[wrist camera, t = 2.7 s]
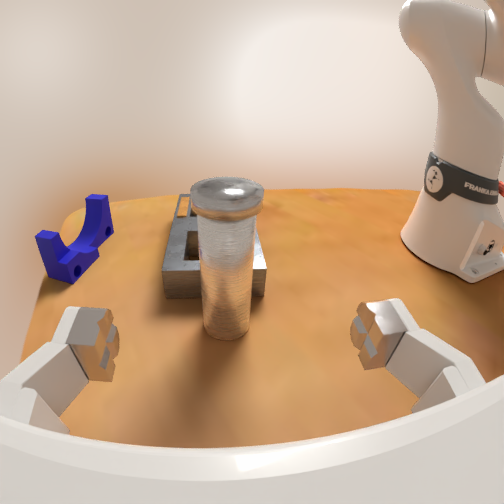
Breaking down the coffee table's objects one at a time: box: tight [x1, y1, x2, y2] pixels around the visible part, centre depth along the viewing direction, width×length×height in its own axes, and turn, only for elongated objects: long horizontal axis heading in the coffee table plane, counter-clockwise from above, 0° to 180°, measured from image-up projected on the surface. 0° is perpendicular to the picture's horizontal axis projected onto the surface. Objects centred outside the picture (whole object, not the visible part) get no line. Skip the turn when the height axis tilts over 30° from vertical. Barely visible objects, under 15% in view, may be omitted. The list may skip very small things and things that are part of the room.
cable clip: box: [35, 194, 114, 284], centre depth 34 cm, size 12×4×6 cm, turn 170°
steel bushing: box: [191, 177, 264, 340], centre depth 24 cm, size 5×5×13 cm
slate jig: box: [162, 194, 267, 298], centre depth 37 cm, size 10×19×4 cm, turn 6°
